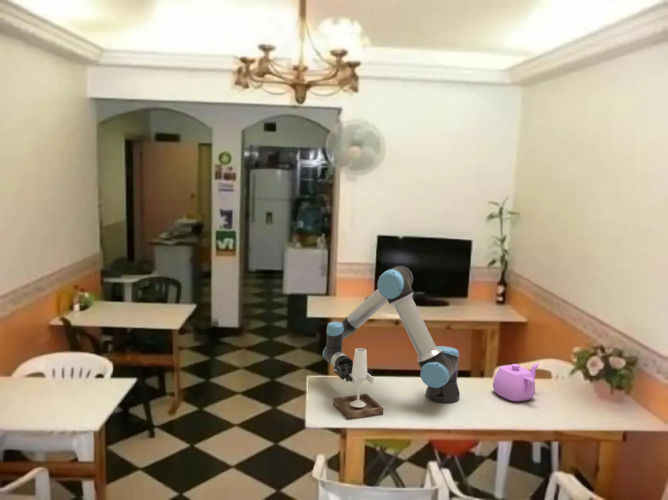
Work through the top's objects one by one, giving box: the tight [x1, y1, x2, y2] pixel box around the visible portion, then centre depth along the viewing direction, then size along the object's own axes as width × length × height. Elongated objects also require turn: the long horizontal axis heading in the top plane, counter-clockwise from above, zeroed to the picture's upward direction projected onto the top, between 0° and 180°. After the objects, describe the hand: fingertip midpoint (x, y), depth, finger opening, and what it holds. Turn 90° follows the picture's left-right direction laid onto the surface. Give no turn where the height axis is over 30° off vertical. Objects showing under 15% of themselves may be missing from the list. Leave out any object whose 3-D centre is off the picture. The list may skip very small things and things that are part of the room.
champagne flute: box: [350, 347, 368, 407], centre depth 259 cm, size 7×7×24 cm
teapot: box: [492, 363, 540, 402], centre depth 281 cm, size 23×21×15 cm
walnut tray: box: [332, 393, 384, 421], centre depth 261 cm, size 16×16×3 cm
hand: (364, 381), depth 254 cm, fingers closed on champagne flute, 7 cm apart
